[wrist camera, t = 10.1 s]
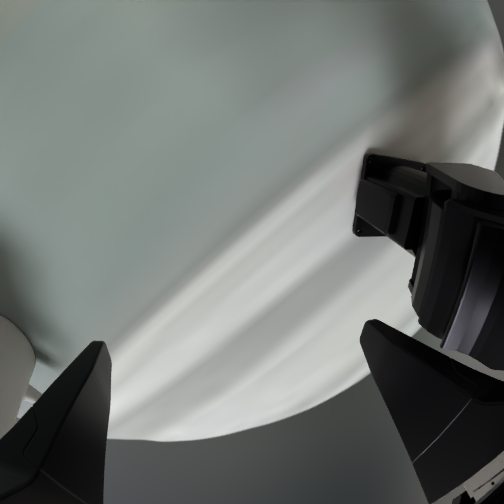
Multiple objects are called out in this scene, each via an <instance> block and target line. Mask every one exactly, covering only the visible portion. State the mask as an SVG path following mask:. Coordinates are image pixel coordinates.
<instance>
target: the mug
mask: <svg viewBox="0 0 504 504" xmlns="http://www.w3.org/2000/svg"><path fill="white" fill-rule="evenodd" d="M35 360H36V359H35V354H34V351H33V348H32V346H31V344H30V343H29V341H28V339H27V338H26V337H25V335H24V334H23V333H22V332H21V331H20V330H19V329H18V328H17V327H16V326H15V325H14V324H13V323H12V322H11V321H9V320H8V319H6V318H5V317H3V316H2V315H0V439H1V438H2V437H3V436H4V435H5V434H6V433H7V432H8V431H9V430H10V429H11V428H12V427H13V426H14V425H15V424H16V418H17V415H18V411H19V408H20V405H21V403H22V400H26V401H29V402H31V403H33V404H34V403H35V402H36V401H37V400H38V399H39V398H40V396H41V395H42V394H41V393H40V392H39V391H37V390H36V389H35V388H33V387H32V386H31V385H29V381H30V378H31V375H32V373H33V370H34V367H35Z"/></svg>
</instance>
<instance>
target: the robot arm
mask: <svg viewBox="0 0 504 504" xmlns="http://www.w3.org/2000/svg"><path fill="white" fill-rule="evenodd" d="M370 158H372V161H371V163H369V160H370ZM421 168H422V170H421ZM359 228H361V229H360V231H359V232H358V229H359ZM353 233H354V234H355V235H356V236H358V237H370V236H387V237H389V238H390V239H391V240H393V241H394V242H395V243H397V244H398V245H400V246H401V247H402V248H404V249H405V250H406V251H408V252H409V253H410V254H411V255H413V256H414V257H415V263H414V268H413V273H412V278H411V279H410V280H409V285H408V288H409V290H410V292H411V294H412V296H411V298H412V306H413V308H414V310H415V312H416V314H417V315H418V317H419V319H418V322H419V324H420V325H421V326H422V327H423V328H425V329H426V330H427V331H428V332H429V333H431V334H432V335H434V336H436V337H437V338H440V339H442V342H441V344H440V347H441V348H442V349H446V350H453V351H458V352H461V353H463V354H466V355H469V356H471V357H473V358H474V359H476V360H478V361H479V362H481V363H482V364H484V365H485V366H487V367H489V368H490V369H493V370H504V180H503V179H502V178H501V177H500V176H499V175H498V174H497V173H496V172H494V171H492V170H489V169H485V168H482V167H479V166H475V165H472V164H464V163H426V164H424V163H421V162H416V161H411V160H406V159H400V158H395V157H389V156H383V155H377V154H370V153H369V154H366V155H365V157H364V160H363V168H362V175H361V181H360V183H359V189H358V196H357V202H356V208H355V218H354V224H353ZM360 344H361V347H362V349H363V352H364V355H365V357H366V360H367V363H368V366H369V368H370V371H371V374H372V376H373V378H374V380H375V383H376V385H377V387H378V389H379V391H380V393H381V395H382V397H383V399H384V401H385V404H386V406H387V408H388V410H389V412H390V414H391V416H392V419H393V421H394V423H395V425H396V427H397V429H398V432H399V434H400V436H401V438H402V441H403V443H404V445H405V448H406V450H407V452H408V454H409V457H410V459H411V461H412V464H413V467H414V469H415V471H416V474H417V476H418V479H419V481H420V483H421V486H422V488H423V491H424V493H425V496H426V499H427V501H428V503H429V504H432V503H434V502H436V501H437V500H439V499H441V498H442V497H444V496H445V495H447V494H448V493H450V492H451V491H453V490H454V489H456V488H457V487H459V486H460V485H462V484H463V486H464V487H465V489H466V490H465V491H464V492H463V493H462V494H460V495H459V496H457V497H456V498H455V499H453V501H452V504H504V381H501V380H498V379H495V378H493V377H491V376H488V375H486V374H484V373H481V372H479V371H477V370H474V369H472V368H470V367H468V366H466V365H464V364H462V363H460V362H458V361H456V360H454V359H452V358H451V359H450V357H448V356H446V355H444V354H442V353H440V352H438V351H437V350H435V349H433V348H431V347H429V346H427V345H425V344H423V343H421V342H419V341H417V340H416V339H414V338H412V337H410V336H408V335H406V334H404V333H402V332H400V331H398V330H396V329H395V328H393V327H391V326H389V325H387V324H385V323H383V322H381V321H379V320H377V319H373V320H368V321H366V322H365V324H364V327H363V330H362V333H361V336H360ZM111 368H112V363H111V358H110V355H109V352H108V349H107V346H106V343H105V342H104V341H92V342H91V343H90V344H89V345H88V346H87V347H86V348H85V349H84V350H83V351H82V352H81V353H80V354H79V355H78V357H77V358H76V359H75V360H74V361H73V362H72V363H71V364H70V365H69V366H68V367H67V368H66V369H65V370H64V371H63V372H62V374H61V375H60V376H59V377H58V378H57V379H56V380H55V381H54V382H53V383H52V384H51V385H50V387H49V388H48V389H47V390H46V391H45V392H44V393H43V394H42V395H41V396H40V398H39V399H38V400H37V401H36V402H35V403H34V404H33V407H31V408H30V409H29V410H28V411H27V412H26V413H25V414H24V416H23V417H22V418H21V419H20V420H19V421H18V422H17V423H16V424H15V425H14V426H13V427H12V428H11V429H10V430H9V431H8V432H7V433H6V434H5V435H4V436H3V437H2V438H1V439H0V504H103V492H104V491H103V490H104V467H105V452H106V441H107V431H108V422H109V413H110V401H111Z"/></svg>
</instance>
